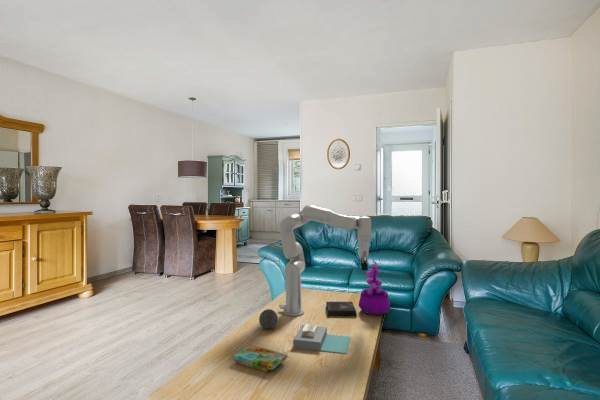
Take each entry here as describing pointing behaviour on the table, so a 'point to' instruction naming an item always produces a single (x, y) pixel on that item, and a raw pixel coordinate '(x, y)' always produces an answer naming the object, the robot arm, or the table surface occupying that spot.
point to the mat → (336, 344)
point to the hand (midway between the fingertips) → (364, 268)
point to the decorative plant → (374, 295)
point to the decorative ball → (268, 319)
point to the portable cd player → (341, 309)
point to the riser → (310, 339)
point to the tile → (309, 330)
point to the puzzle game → (259, 358)
